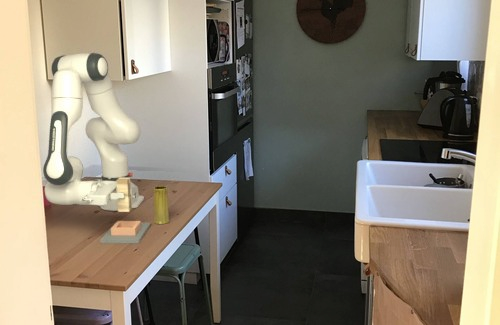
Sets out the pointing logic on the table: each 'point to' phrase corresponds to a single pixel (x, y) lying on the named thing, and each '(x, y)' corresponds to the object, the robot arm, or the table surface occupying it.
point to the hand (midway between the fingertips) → (126, 193)
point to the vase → (161, 205)
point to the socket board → (126, 232)
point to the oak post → (125, 187)
